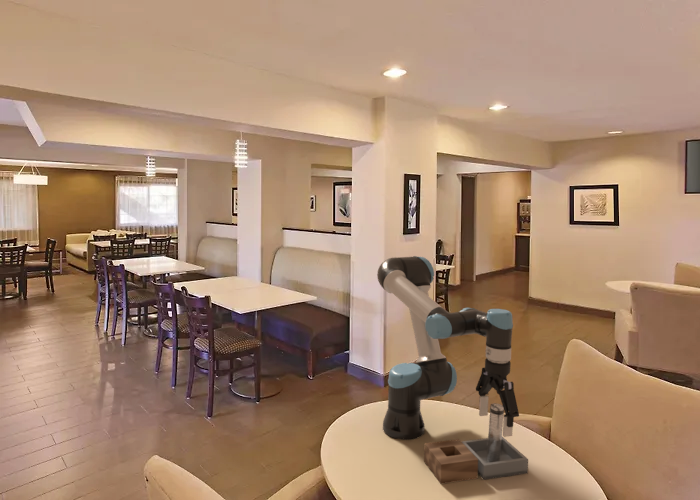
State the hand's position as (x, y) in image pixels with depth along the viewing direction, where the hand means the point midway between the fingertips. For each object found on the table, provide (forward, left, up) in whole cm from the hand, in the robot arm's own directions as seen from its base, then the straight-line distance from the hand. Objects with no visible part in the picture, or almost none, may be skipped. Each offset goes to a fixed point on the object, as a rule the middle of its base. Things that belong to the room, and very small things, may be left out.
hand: (494, 425), depth 139 cm
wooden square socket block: (0, -15, -13) cm, 20 cm away
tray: (0, 0, -13) cm, 13 cm away
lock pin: (0, 0, -12) cm, 12 cm away
